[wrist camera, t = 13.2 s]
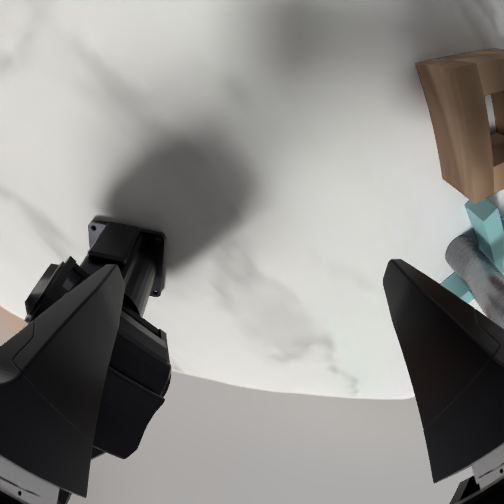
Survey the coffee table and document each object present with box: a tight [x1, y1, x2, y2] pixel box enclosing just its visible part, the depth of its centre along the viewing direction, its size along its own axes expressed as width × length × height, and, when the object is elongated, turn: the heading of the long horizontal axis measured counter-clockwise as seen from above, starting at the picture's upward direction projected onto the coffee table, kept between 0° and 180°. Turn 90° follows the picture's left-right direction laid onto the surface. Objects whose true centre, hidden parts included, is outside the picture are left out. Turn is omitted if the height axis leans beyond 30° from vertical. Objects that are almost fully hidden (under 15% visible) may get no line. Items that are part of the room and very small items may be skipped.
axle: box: [445, 235, 504, 328], centre depth 19 cm, size 4×4×13 cm
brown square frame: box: [415, 49, 504, 204], centre depth 14 cm, size 10×10×4 cm
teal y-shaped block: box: [440, 198, 504, 303], centre depth 23 cm, size 10×13×3 cm
